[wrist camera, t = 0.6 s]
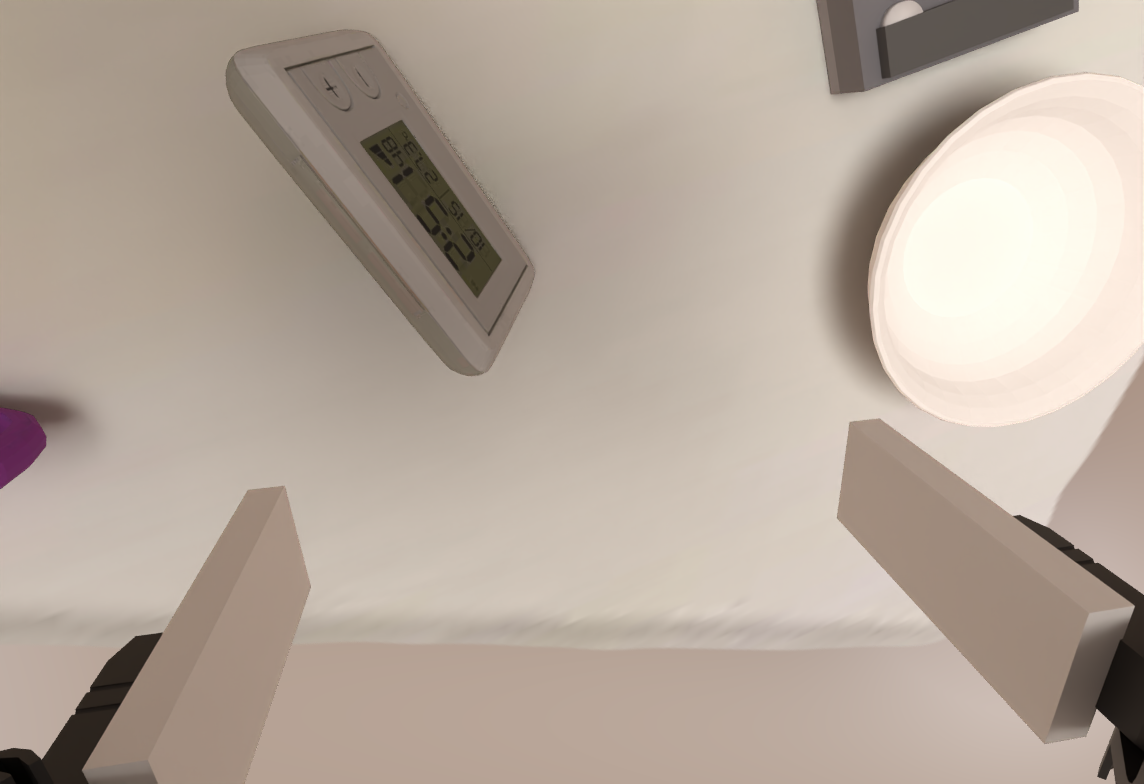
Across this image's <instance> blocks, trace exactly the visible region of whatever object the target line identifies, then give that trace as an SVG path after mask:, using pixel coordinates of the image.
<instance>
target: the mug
mask: <svg viewBox="0 0 1144 784" xmlns="http://www.w3.org/2000/svg"><path fill="white" fill-rule="evenodd" d="M45 447H46V435H45V433H44V431H43V429H42V428H41V426H40V425H39V423H38V422H37V420H36V419H35V418H34V416H33V415H30V414H28V413H25V412H22V411H17V410H12V409H6V408H0V489H1V488H3V487H4V486H5V485H6V484H8V483H9V482H10V481H12V480H13V479H14V478H15V477H17V476H18V475H19V474H21V473H22V472H23V471H25V470H26V469H27V468H28V467H29V466H30V465H31V464H32V463H33V462H34V461H35V459H36V458H37V457H38V456H39V454H40V453H41V452H42V451H43V449H44V448H45Z"/></svg>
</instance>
